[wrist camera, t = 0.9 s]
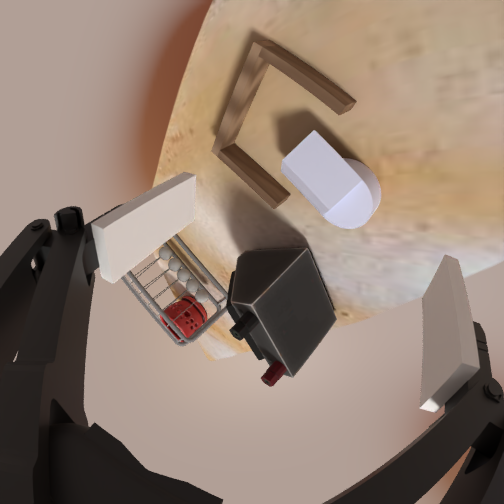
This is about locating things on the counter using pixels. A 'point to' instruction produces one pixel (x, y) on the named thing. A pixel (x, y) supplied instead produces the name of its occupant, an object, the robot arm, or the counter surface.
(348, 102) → the walnut bay
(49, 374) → the robot arm
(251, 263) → the voltmeter
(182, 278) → the newton's cradle
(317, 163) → the wedge on round base
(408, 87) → the counter surface
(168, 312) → the plant pot
